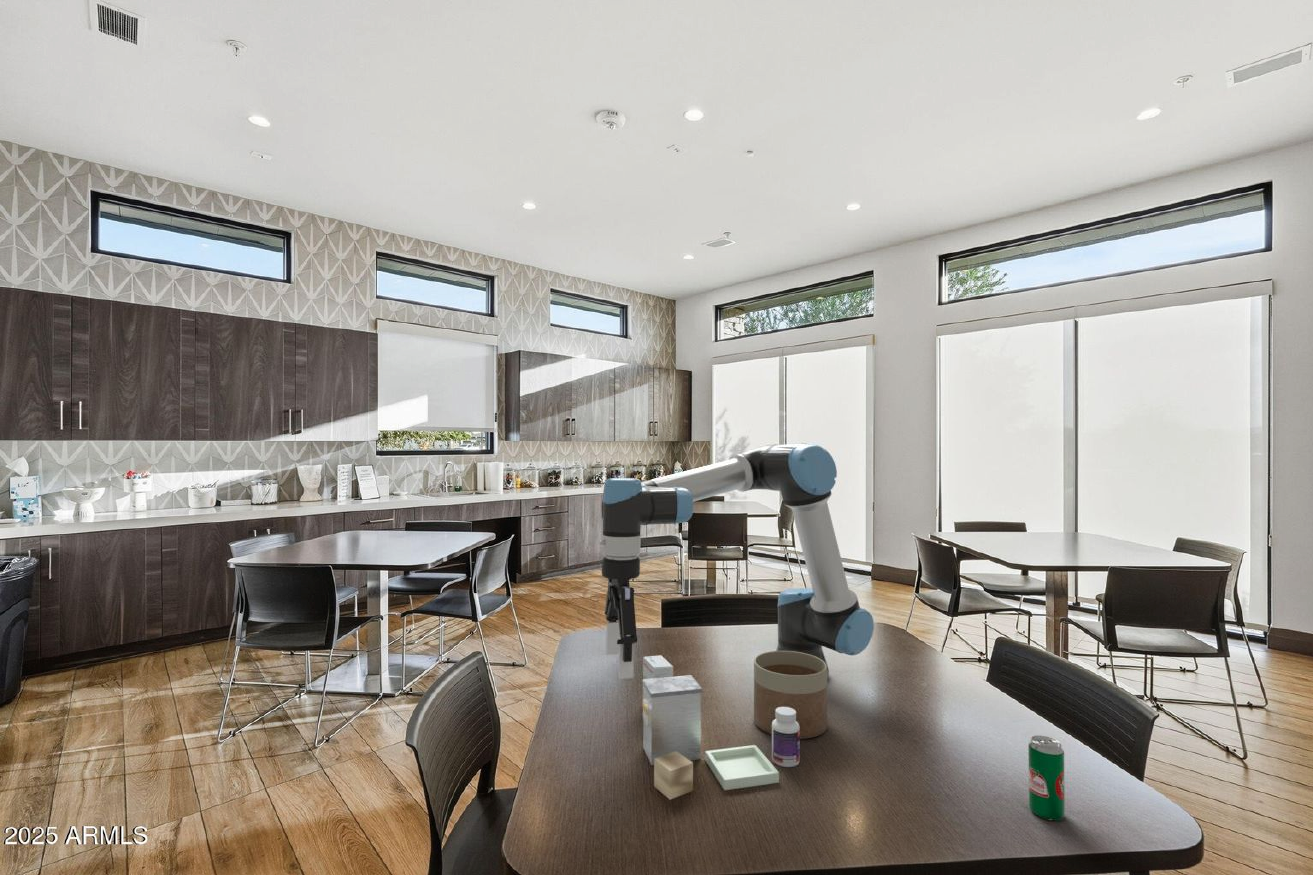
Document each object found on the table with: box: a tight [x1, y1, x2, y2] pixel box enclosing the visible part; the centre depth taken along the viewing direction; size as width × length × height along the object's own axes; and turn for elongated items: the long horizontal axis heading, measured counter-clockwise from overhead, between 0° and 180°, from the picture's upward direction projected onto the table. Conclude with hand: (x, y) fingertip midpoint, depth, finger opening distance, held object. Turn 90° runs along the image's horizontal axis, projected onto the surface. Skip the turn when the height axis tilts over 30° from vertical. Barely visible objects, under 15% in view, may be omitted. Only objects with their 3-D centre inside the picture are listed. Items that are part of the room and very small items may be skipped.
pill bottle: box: [771, 707, 801, 768], centre depth 117 cm, size 5×5×10 cm
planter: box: [753, 650, 828, 740], centre depth 133 cm, size 16×16×14 cm
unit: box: [641, 674, 703, 766], centre depth 120 cm, size 11×7×14 cm
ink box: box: [642, 654, 674, 700], centre depth 139 cm, size 9×5×12 cm, turn 20°
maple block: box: [653, 751, 694, 800], centre depth 107 cm, size 5×5×5 cm
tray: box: [704, 744, 780, 791], centre depth 113 cm, size 11×11×2 cm
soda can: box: [1027, 735, 1066, 821], centre depth 101 cm, size 5×5×12 cm
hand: (619, 665), depth 117 cm, fingers open, 13 cm apart
